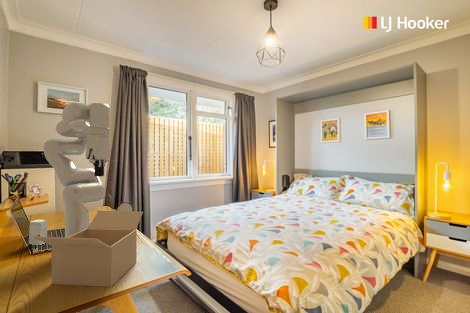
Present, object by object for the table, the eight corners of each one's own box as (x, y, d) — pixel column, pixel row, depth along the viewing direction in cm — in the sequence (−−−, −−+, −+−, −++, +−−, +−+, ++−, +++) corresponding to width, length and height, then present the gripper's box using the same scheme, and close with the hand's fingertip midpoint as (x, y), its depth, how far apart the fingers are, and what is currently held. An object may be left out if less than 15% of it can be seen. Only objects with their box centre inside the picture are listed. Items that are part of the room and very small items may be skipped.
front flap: (52, 244, 82) (52, 245, 82) (34, 236, 75) (33, 237, 75) (110, 246, 81) (109, 247, 81) (96, 238, 74) (95, 239, 73)
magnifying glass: (116, 241, 121) (116, 203, 121) (115, 240, 123) (115, 203, 122) (133, 237, 128) (133, 201, 127) (132, 236, 129) (132, 201, 128)
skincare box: (28, 246, 115) (28, 221, 115) (36, 242, 119) (36, 219, 119) (40, 246, 115) (40, 222, 114) (48, 243, 119) (47, 219, 119)
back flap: (98, 210, 107) (98, 211, 107) (88, 227, 100) (88, 228, 100) (142, 211, 106) (143, 212, 106) (135, 229, 99) (135, 230, 99)
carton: (51, 284, 82) (51, 244, 82) (86, 260, 100) (86, 228, 100) (111, 286, 81) (111, 246, 81) (136, 262, 99) (136, 229, 99)
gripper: (102, 134, 106) (102, 174, 107) (77, 131, 91) (77, 177, 92) (118, 134, 105) (117, 174, 106) (96, 131, 91) (95, 178, 91)
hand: (99, 176), depth 99 cm, fingers closed
